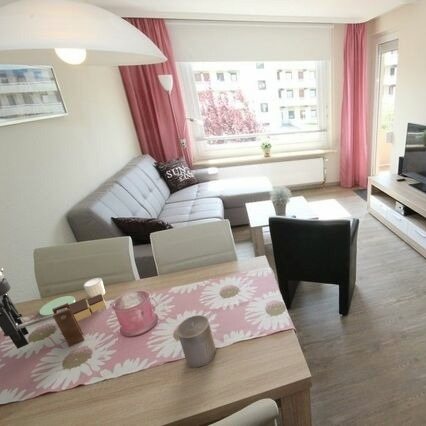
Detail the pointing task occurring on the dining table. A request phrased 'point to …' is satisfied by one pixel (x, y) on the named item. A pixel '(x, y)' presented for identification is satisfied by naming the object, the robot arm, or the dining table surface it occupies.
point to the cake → (80, 309)
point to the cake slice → (96, 303)
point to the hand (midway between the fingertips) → (23, 340)
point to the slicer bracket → (68, 325)
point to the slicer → (38, 320)
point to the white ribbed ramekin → (94, 287)
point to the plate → (55, 305)
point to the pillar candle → (197, 341)
